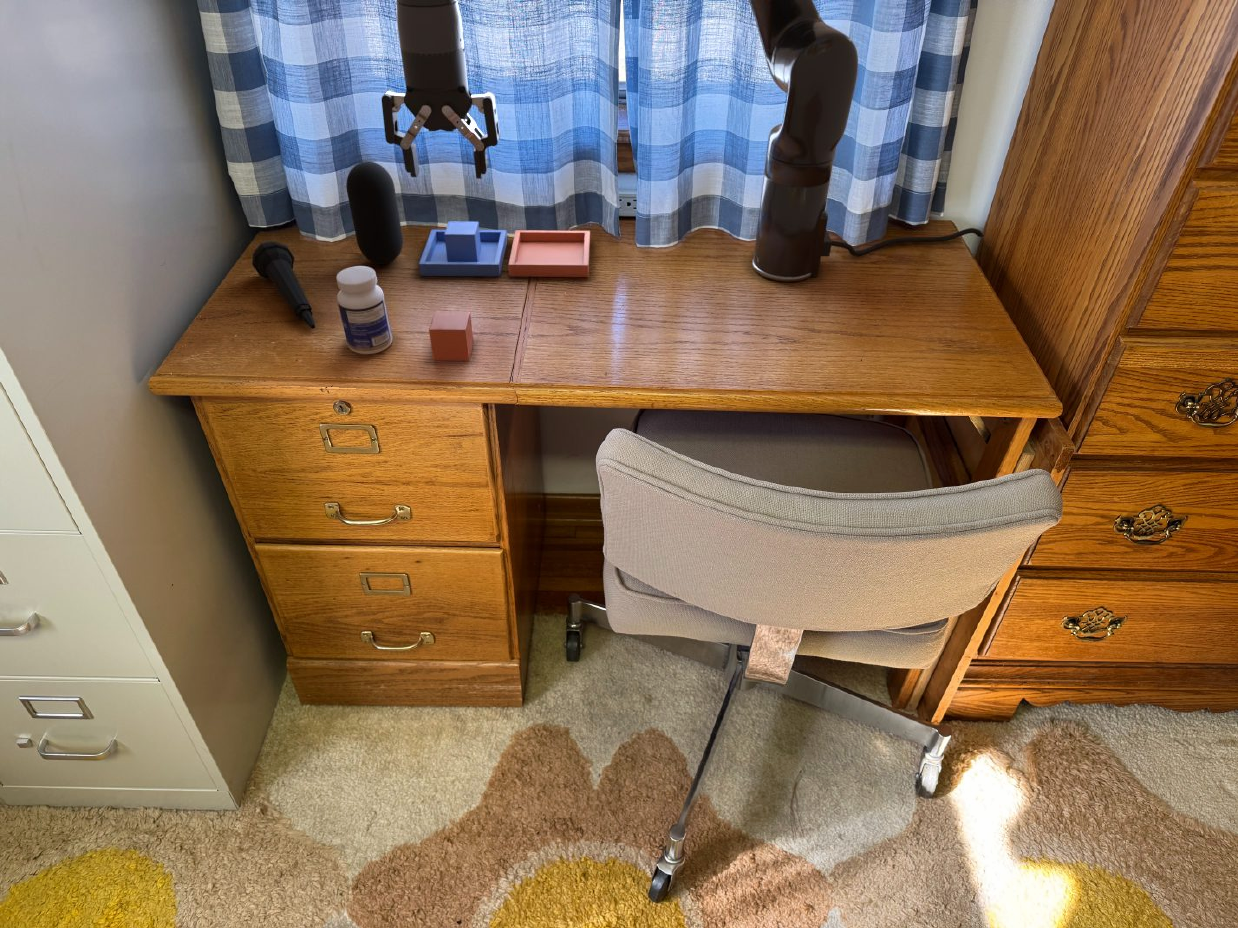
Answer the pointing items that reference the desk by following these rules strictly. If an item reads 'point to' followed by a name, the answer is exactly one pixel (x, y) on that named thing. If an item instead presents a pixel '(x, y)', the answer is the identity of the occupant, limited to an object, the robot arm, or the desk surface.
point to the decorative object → (374, 212)
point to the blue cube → (462, 241)
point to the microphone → (283, 277)
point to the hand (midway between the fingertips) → (447, 176)
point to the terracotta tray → (550, 253)
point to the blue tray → (487, 263)
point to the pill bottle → (363, 310)
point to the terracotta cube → (451, 335)
